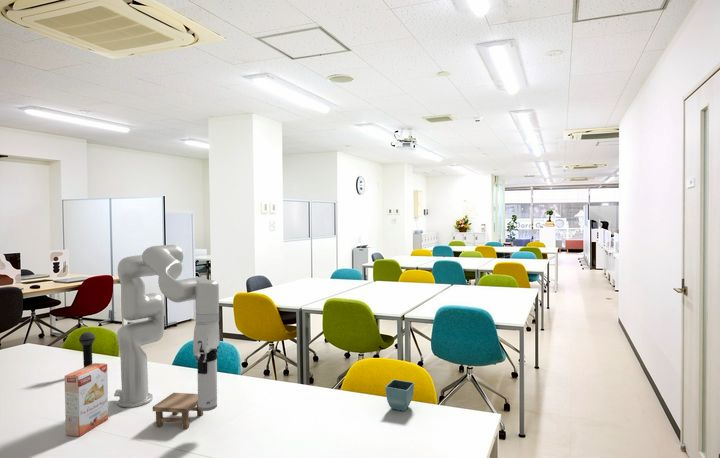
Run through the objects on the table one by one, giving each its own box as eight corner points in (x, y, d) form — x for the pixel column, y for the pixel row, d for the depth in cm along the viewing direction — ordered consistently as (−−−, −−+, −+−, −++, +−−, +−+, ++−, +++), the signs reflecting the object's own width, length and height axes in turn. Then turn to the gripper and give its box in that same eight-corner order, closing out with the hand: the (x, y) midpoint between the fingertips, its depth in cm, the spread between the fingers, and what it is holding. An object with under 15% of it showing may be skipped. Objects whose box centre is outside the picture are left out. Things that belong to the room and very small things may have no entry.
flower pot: (415, 405, 177) (414, 382, 177) (407, 414, 169) (407, 390, 169) (393, 401, 181) (393, 379, 181) (385, 410, 173) (384, 387, 173)
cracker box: (80, 437, 156) (78, 376, 155) (65, 436, 157) (62, 375, 156) (110, 419, 170) (108, 362, 169) (95, 418, 171) (93, 362, 170)
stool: (153, 428, 162) (152, 406, 162) (174, 412, 175) (173, 392, 174) (187, 430, 160) (186, 408, 160) (206, 414, 173) (205, 394, 172)
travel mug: (212, 412, 153) (211, 353, 152) (194, 410, 155) (193, 351, 154) (221, 404, 160) (221, 347, 158) (204, 402, 161) (203, 346, 160)
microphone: (77, 375, 217) (75, 333, 217) (88, 371, 224) (87, 330, 223) (87, 376, 216) (86, 334, 215) (99, 372, 222) (98, 330, 221)
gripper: (209, 311, 165) (209, 360, 166) (183, 323, 148) (183, 378, 149) (229, 312, 163) (229, 362, 164) (204, 324, 146) (205, 380, 147)
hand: (207, 369), depth 156 cm, fingers closed on travel mug, 6 cm apart
